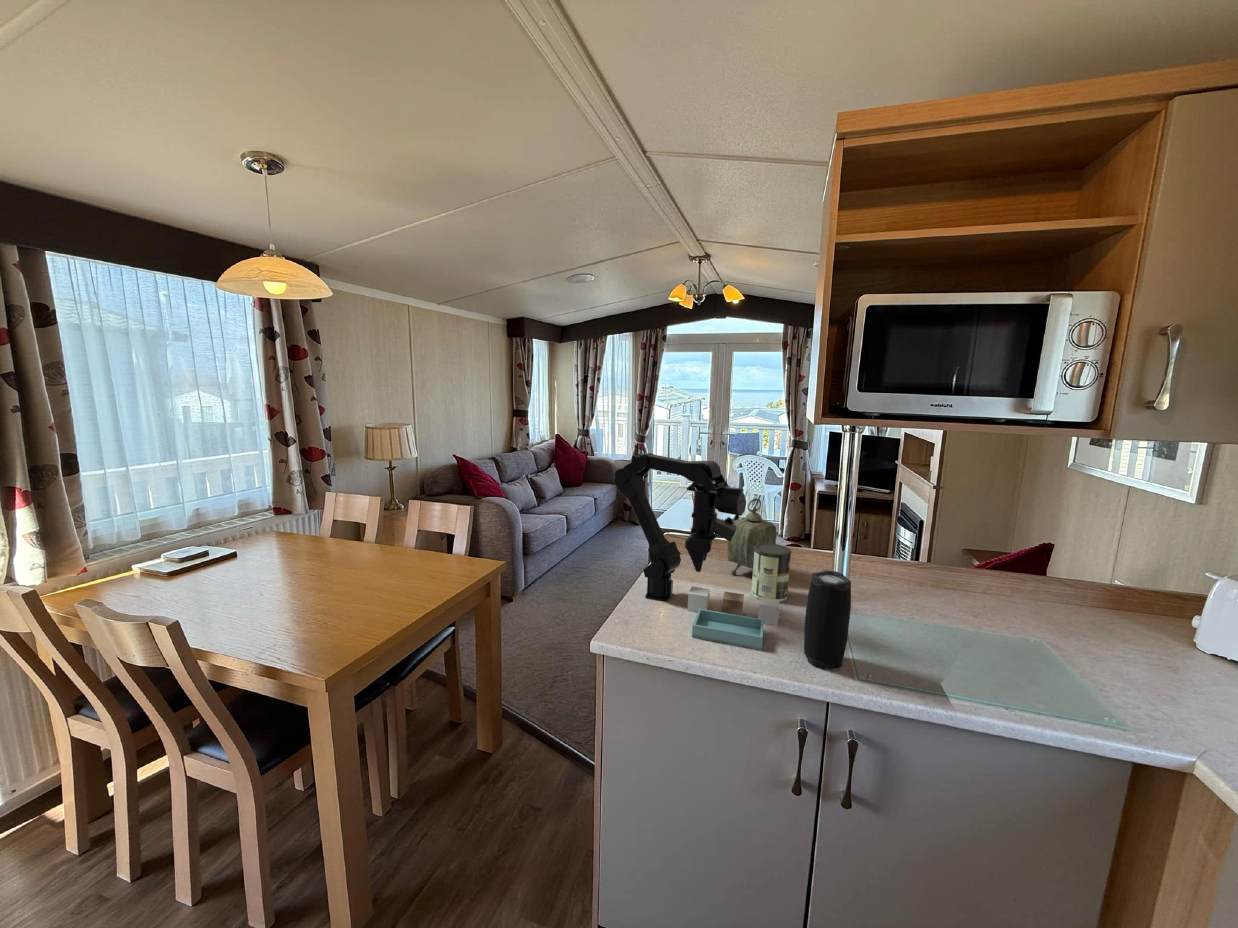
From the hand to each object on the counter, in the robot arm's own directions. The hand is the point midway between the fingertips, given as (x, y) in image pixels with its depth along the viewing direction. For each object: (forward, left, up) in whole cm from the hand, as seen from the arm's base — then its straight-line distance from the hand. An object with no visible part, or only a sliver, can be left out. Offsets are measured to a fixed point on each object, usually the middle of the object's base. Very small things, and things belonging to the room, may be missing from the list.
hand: (700, 565), depth 129 cm
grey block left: (0, 0, -12) cm, 12 cm away
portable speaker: (+30, -16, -12) cm, 36 cm away
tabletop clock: (+12, +32, -12) cm, 36 cm away
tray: (+9, -12, -12) cm, 19 cm away
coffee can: (+18, +17, -12) cm, 28 cm away
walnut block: (+9, 0, -12) cm, 15 cm away
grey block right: (+18, 0, -12) cm, 22 cm away
